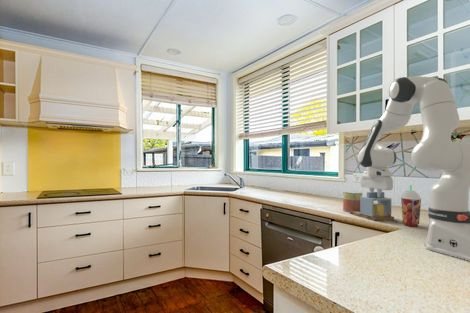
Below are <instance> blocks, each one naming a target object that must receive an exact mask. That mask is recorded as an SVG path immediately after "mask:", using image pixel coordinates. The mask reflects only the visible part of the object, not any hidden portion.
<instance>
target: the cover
mask: <svg viewBox="0 0 470 313" xmlns="http://www.w3.org/2000/svg"><path fill="white" fill-rule="evenodd" d="M377 192H378V191H374V192H370V191H366V196H362V197H360V213H361V214H364V215H368V216H371V217H373V204H374V202H375V201H377V204H380V205H384V214H385V215H387V211H391V212H392V198H390V197H385V192H384V191H382V192H381V194H380V197H376V194H377Z"/></svg>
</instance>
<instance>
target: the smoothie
mask: <svg viewBox="0 0 470 313" xmlns="http://www.w3.org/2000/svg"><path fill="white" fill-rule="evenodd" d="M400 198H401V199H400V201H401V202H400V203H401V213H402V214H401V216H402V217H401V218H402V222H403V224H404V226H407V227H413V228H416V227H418V226H419V224H420V219H421V218H420V217H421V205H422V203H421V202H422V198H421V197H420V194H419V193H418V192H417V191H415V190H413V189H412V184H410V185H409V189H408V190H407V191H405V192H403V194H402V195H401V197H400Z"/></svg>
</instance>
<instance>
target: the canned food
mask: <svg viewBox="0 0 470 313" xmlns="http://www.w3.org/2000/svg"><path fill="white" fill-rule="evenodd" d="M342 194H343V196H342V199H343V200H342V203H343V204H342V210H343V212H346V213H350V211H360V197H363V192H362V191H356V190H346V191H345V190H343V191H342Z"/></svg>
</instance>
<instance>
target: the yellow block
mask: <svg viewBox="0 0 470 313" xmlns="http://www.w3.org/2000/svg"><path fill="white" fill-rule="evenodd" d="M376 212H379V217H380V216H384V205H380V204H378V203H375V204H374V203H373V216H376Z"/></svg>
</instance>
